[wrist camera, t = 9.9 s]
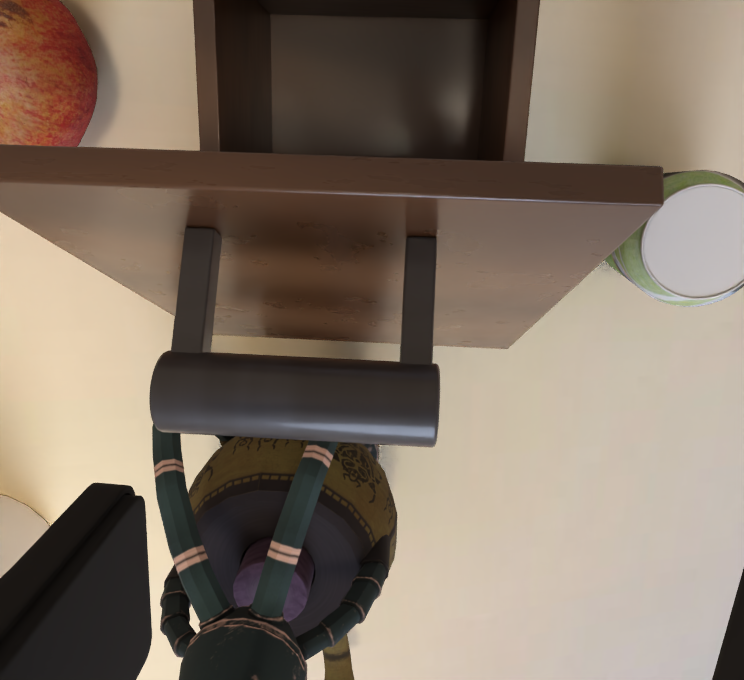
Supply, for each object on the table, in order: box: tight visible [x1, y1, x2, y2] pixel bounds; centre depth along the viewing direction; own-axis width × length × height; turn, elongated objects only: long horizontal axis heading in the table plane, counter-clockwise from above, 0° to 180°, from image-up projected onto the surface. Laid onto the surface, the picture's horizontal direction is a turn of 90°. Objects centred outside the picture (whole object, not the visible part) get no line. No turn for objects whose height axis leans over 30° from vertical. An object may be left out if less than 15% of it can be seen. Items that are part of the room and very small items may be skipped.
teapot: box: [152, 423, 397, 680], centre depth 33 cm, size 12×25×23 cm, turn 8°
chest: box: [193, 0, 540, 162], centre depth 32 cm, size 16×14×11 cm
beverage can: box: [605, 170, 744, 307], centre depth 32 cm, size 6×7×12 cm
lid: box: [0, 144, 664, 447], centre depth 20 cm, size 17×14×5 cm
